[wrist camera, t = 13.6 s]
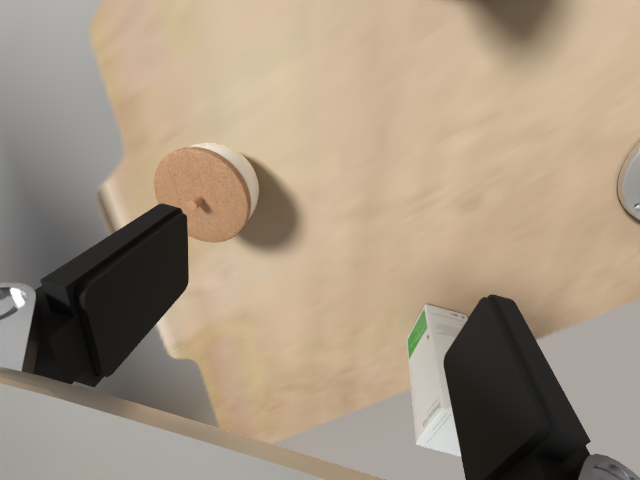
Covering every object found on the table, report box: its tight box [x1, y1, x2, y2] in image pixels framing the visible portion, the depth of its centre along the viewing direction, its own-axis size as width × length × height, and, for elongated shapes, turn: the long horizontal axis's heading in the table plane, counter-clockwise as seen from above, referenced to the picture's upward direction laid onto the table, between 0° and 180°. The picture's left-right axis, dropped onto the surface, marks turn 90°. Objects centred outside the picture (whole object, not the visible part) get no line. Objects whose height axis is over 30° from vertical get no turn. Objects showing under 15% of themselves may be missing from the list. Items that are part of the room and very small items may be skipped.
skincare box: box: [406, 304, 468, 457], centre depth 40 cm, size 8×7×16 cm
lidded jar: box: [154, 143, 259, 242], centre depth 36 cm, size 11×11×9 cm
